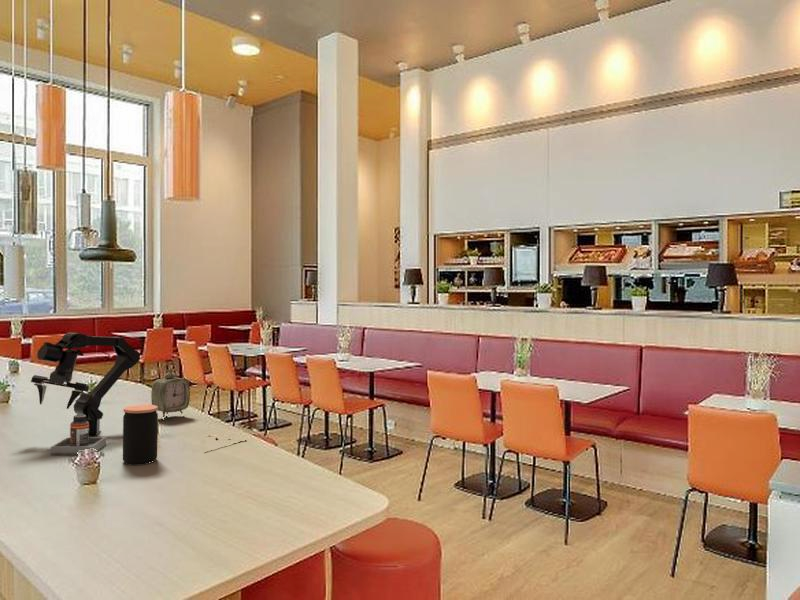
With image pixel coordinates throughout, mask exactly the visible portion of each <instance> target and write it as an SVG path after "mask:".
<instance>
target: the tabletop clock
mask: <svg viewBox="0 0 800 600" xmlns="http://www.w3.org/2000/svg"><path fill="white" fill-rule="evenodd" d="M171 364H174V365H175V368H174V369H172V368H171V367H170V368H169V369H166V367H167V366H168V365H171ZM163 369H164V371H165V372H167V373H165V375H164V377H163V378H158V379H156V380H154V381H153V382H152V385H151V395H150V398H151V405H156V406H158V410H157V411H159V412H162V417H165V414H168V415H169V413H177V412H180V414H182V413H184V412H183V411H184V410H186V409H187V408H188V407H189V405H190V396H191V387H190V382H189V379H187V378H182V377H181V378H180V377H178V376H177V374H176V372H175V371H176V370H177V369H178V364H177V362H174V361H170V362H166V363H165V364H164V366H163ZM157 411H156V412H157Z"/></svg>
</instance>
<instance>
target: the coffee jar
mask: <svg viewBox="0 0 800 600" xmlns="http://www.w3.org/2000/svg"><path fill="white" fill-rule="evenodd" d="M157 410H158V406H156V405H152V404H136V405H134V404H133V405H129V406H125V407H123V412H124V414H123V416H122V417H123V419H122V421H123V422H122V461H123V462H124V464H126V463H127V464H126V465H128V464H144V465H146V464H145V463H149V462H152V461H154V460H155V461H156V460H157V458H158V429H159V428H158V423H159V421H158V419H159V414H158V412H157ZM155 461H154V462H155ZM152 463H153V462H152ZM149 464H150V463H149Z"/></svg>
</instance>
